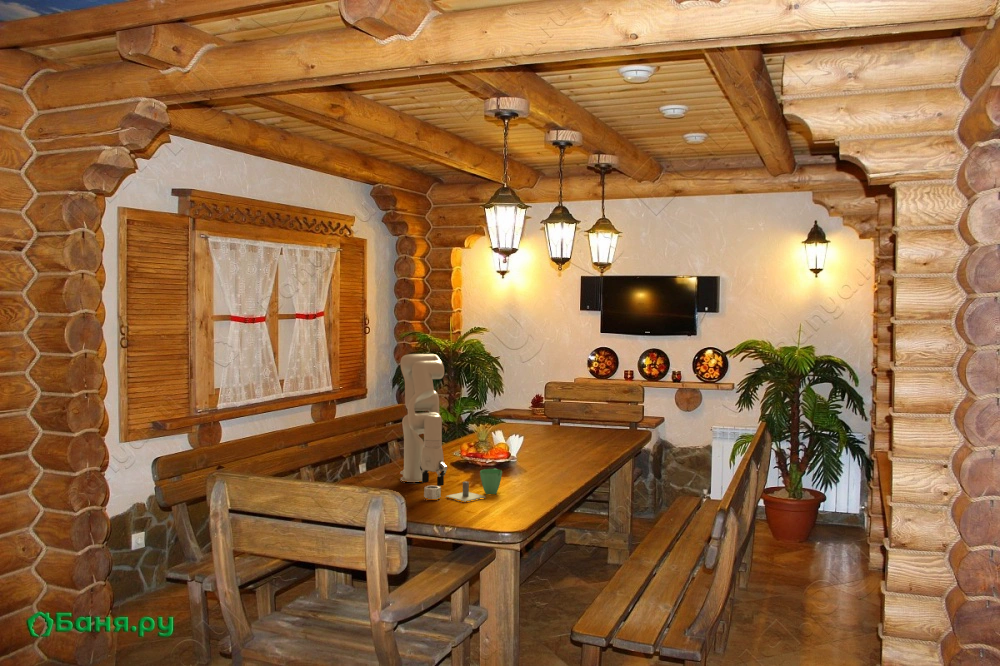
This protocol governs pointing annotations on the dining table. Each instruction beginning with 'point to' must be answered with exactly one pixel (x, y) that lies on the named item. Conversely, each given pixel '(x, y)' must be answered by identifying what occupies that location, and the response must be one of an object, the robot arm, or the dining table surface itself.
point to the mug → (490, 480)
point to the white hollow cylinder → (432, 492)
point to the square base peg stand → (465, 494)
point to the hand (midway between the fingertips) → (432, 483)
